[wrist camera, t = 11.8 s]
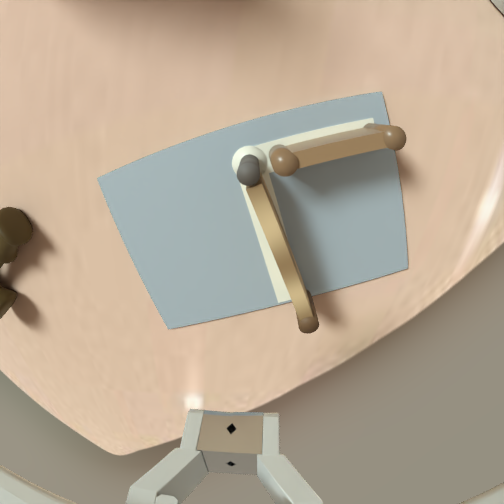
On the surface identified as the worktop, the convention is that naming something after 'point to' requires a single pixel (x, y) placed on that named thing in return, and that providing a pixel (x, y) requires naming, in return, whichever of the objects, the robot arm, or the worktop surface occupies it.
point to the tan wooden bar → (277, 242)
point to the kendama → (11, 246)
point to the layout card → (245, 219)
